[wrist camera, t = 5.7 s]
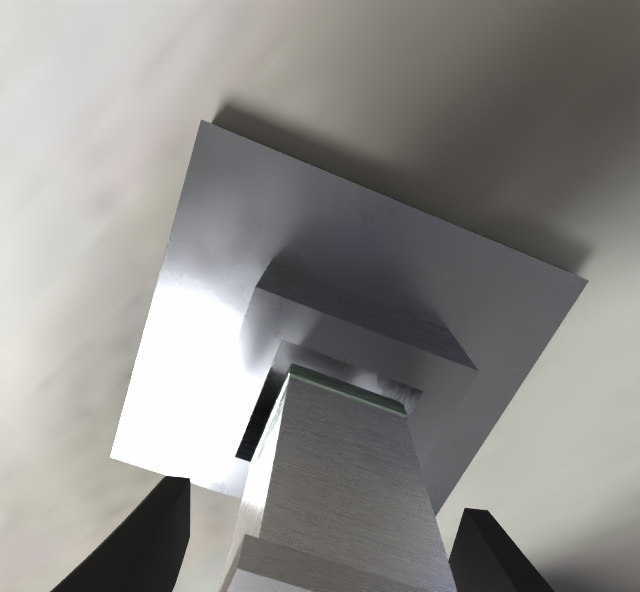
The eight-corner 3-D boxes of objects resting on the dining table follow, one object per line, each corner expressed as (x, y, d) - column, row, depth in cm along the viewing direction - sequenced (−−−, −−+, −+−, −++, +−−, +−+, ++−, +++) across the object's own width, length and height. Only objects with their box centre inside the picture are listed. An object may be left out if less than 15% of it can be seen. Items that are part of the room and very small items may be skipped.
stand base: (570, 272, 17) (654, 310, 12) (407, 533, 22) (426, 624, 17) (210, 122, 15) (163, 107, 11) (122, 440, 20) (66, 515, 16)
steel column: (412, 397, 13) (500, 648, 6) (359, 494, 15) (384, 784, 8) (286, 352, 13) (237, 568, 6) (243, 456, 14) (164, 729, 7)
